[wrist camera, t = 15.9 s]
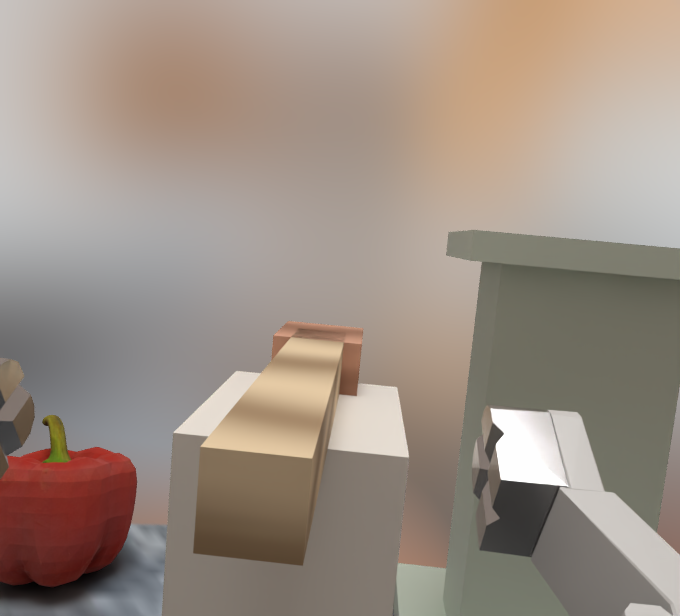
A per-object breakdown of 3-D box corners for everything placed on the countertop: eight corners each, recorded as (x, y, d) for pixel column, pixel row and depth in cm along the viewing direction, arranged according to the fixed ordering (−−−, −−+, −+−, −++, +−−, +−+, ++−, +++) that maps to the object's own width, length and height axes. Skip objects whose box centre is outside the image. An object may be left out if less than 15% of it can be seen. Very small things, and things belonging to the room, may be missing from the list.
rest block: (358, 930, 23) (409, 457, 21) (143, 901, 23) (173, 432, 21) (362, 721, 33) (397, 387, 31) (212, 703, 33) (236, 371, 31)
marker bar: (340, 570, 13) (349, 462, 13) (156, 548, 14) (163, 442, 13) (358, 372, 33) (363, 328, 33) (284, 365, 33) (288, 321, 33)
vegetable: (-33, 545, 46) (-30, 414, 45) (112, 521, 52) (118, 404, 51) (-25, 630, 37) (-21, 469, 36) (150, 589, 43) (158, 449, 42)
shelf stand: (722, 781, 31) (814, 259, 28) (401, 741, 32) (458, 227, 29) (614, 613, 45) (668, 252, 42) (392, 588, 46) (430, 231, 43)
